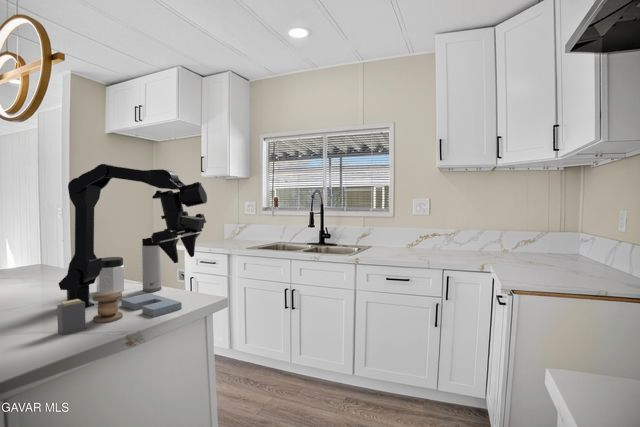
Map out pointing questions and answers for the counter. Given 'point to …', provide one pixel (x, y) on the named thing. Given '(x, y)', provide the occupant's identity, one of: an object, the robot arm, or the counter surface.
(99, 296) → the bobbin
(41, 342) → the counter surface
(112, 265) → the jar
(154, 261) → the travel mug
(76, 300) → the grey block
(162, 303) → the notched board
